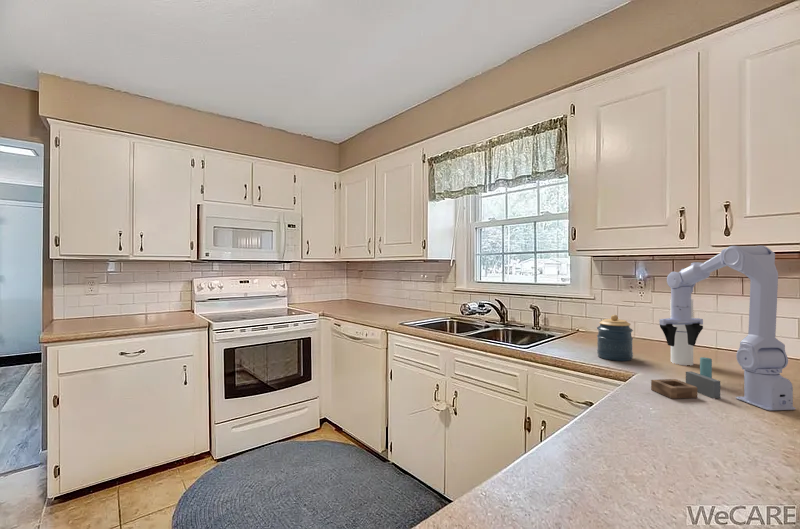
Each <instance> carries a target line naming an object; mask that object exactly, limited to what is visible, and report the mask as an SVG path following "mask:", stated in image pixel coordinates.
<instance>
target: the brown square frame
mask: <svg viewBox="0 0 800 529" xmlns="http://www.w3.org/2000/svg"><path fill="white" fill-rule="evenodd" d="M650 384H651V387H650V388H651V390H652V391H653V392H655V393H658V394H660V395H662V396H665V397H666V398H668V399H694V398H695V399H696V398H698V397H699V396H698V392H697V387H695V386H693V385H690V384H687V383H686V381H685V382H684V381H682V380H679V379H676V378H668V379H667V378H664V379H663V378H662V379H650Z"/></svg>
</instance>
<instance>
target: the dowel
mask: <svg viewBox="0 0 800 529" xmlns="http://www.w3.org/2000/svg"><path fill="white" fill-rule="evenodd" d="M712 362H713V359H712V358H709V357H705V356H704V357H702V356H701V357H699V374H701V375H704V376H707V377H710V378H712V379H713V363H712Z"/></svg>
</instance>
